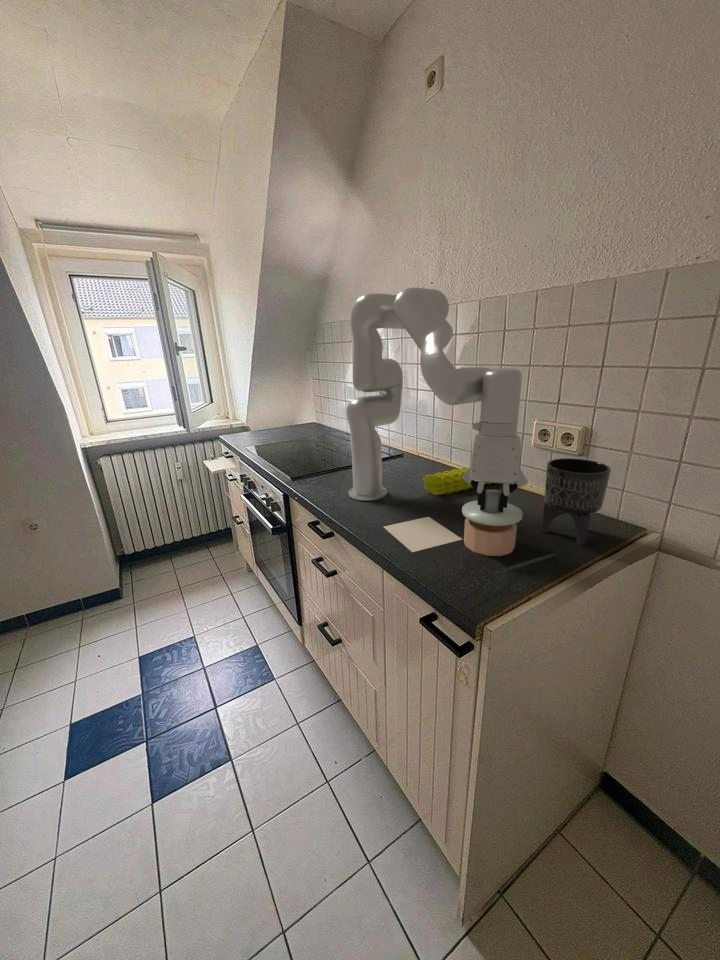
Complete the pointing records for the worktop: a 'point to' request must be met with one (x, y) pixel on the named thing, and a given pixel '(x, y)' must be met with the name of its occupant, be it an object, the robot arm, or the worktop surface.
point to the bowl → (489, 538)
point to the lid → (492, 511)
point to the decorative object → (447, 482)
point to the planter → (574, 492)
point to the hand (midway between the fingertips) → (491, 508)
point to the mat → (421, 534)
